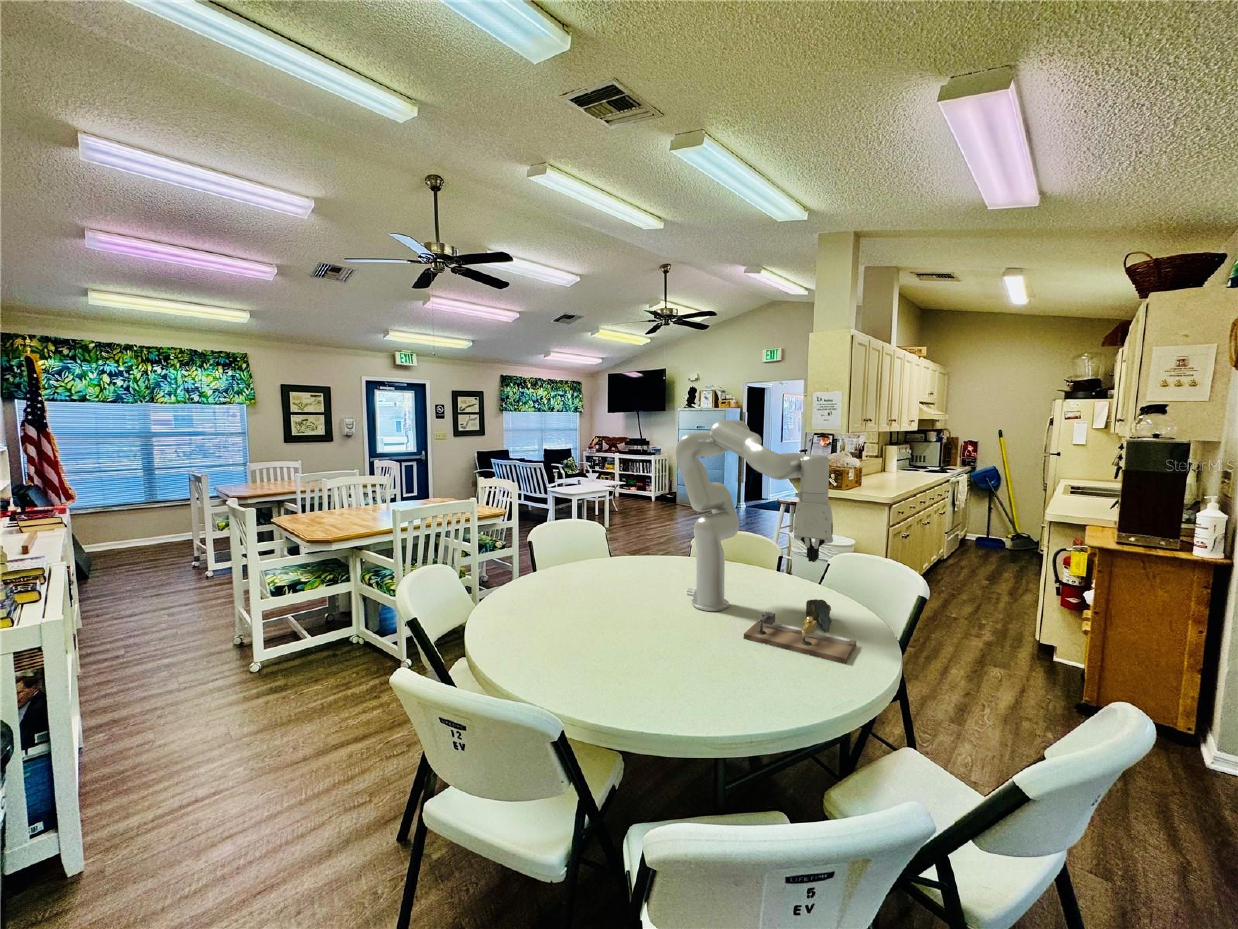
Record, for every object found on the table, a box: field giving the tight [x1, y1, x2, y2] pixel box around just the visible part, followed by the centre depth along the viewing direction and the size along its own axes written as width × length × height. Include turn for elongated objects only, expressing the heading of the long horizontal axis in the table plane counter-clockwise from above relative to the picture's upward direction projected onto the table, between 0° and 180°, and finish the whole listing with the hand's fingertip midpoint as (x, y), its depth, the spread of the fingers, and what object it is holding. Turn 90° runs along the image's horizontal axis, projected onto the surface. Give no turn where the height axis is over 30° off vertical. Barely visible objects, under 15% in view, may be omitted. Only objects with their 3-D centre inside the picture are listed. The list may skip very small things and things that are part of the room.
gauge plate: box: [743, 610, 857, 665], centre depth 148 cm, size 28×13×5 cm, turn 54°
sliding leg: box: [801, 616, 817, 641], centre depth 147 cm, size 3×8×5 cm, turn 145°
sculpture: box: [805, 599, 833, 633], centre depth 161 cm, size 13×6×7 cm, turn 173°
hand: (812, 560), depth 149 cm, fingers closed
